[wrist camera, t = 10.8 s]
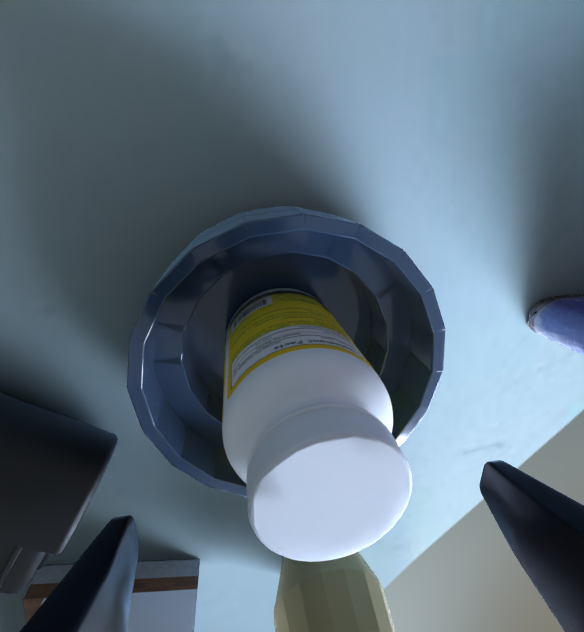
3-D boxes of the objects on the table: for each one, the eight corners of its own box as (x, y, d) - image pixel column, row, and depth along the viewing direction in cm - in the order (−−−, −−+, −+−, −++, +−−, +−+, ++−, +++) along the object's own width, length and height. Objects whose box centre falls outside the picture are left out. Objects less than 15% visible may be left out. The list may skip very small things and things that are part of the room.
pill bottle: (311, 392, 21) (384, 587, 11) (213, 371, 20) (191, 575, 10) (350, 301, 19) (478, 435, 9) (244, 269, 18) (259, 388, 8)
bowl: (114, 389, 20) (79, 452, 15) (221, 149, 16) (217, 137, 11) (322, 457, 24) (343, 523, 19) (442, 280, 20) (503, 310, 16)
